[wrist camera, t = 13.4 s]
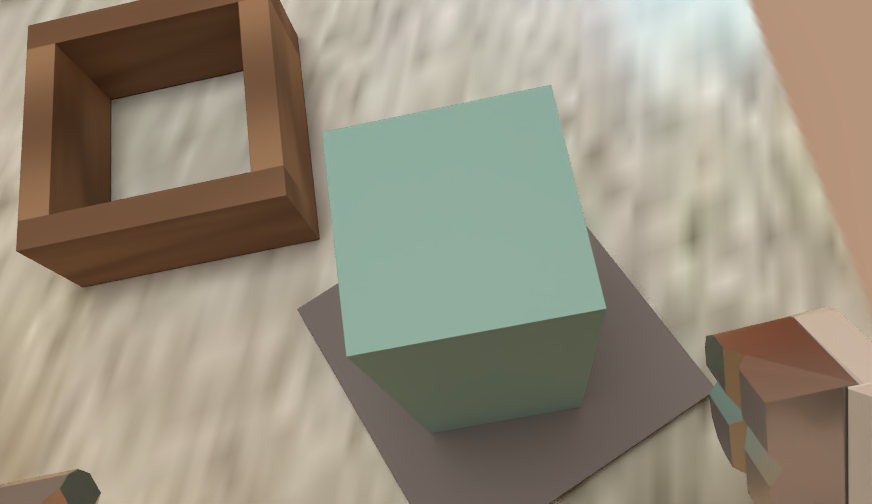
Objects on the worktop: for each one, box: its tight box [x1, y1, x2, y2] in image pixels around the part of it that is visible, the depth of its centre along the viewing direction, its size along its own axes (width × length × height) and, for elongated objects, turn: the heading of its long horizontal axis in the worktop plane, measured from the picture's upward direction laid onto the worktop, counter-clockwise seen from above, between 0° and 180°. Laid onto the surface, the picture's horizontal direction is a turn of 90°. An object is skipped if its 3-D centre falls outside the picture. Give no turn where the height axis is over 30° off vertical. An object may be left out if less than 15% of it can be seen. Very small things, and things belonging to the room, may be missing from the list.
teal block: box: [322, 85, 606, 433], centre depth 18 cm, size 4×4×10 cm
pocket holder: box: [16, 0, 319, 287], centre depth 26 cm, size 8×8×4 cm
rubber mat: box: [297, 226, 714, 504], centre depth 23 cm, size 9×9×1 cm
